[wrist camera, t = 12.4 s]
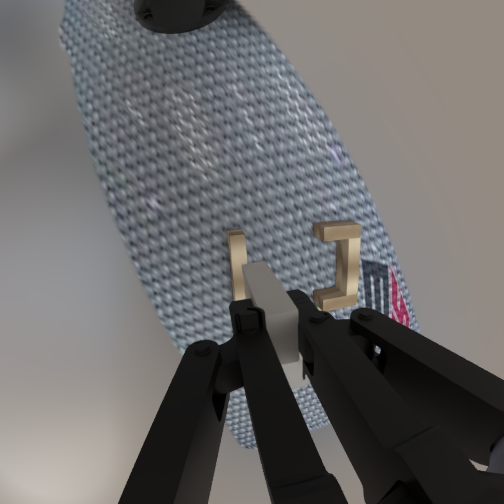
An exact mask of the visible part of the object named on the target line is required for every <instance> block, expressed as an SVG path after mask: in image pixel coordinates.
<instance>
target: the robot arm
mask: <svg viewBox="0 0 504 504" xmlns="http://www.w3.org/2000/svg"><path fill="white" fill-rule="evenodd" d="M226 4H227V0H134V11H135V14H136V16H137V19H138V21H139V22H140V23H141V24H142V25H143V26H144V27H146V28H147V29H150V30H152V31H155V32H160V33H181V32H187V31H191V30H195V29H198V28H200V27H203V26H205V25H207V24H209V23H210V22H212V21H213V20H215V19H216V18H217V17H218V16H219V15H220V14H221V13H222V12H223V11H224V9H225V7H226ZM241 266H242V274H243V282H244V290H245V298H246V299H243V300H236V301H232V302H231V304H230V305H229V310H230V316H231V322H232V328H233V334H234V335H233V337H232V338H231V339H230V340H229V341H227V342H226V343H223V344H221V345H218V344H217V343H216V342H214V341H212V340H200V341H197V342H194V343H192V344H191V345H189V346H188V348H187V349H186V351H185V353H184V355H183V357H182V360H181V362H180V364H179V366H178V368H177V371H176V373H175V375H174V377H173V379H172V381H171V384H170V386H169V388H168V390H167V393H166V395H165V397H164V399H163V401H162V403H161V406H160V408H159V410H158V412H157V414H156V417H155V419H154V421H153V423H152V426H151V428H150V430H149V433H148V435H147V437H146V439H145V442H144V444H143V446H142V448H141V451H140V453H139V455H138V458H137V460H136V462H135V464H134V467H133V469H132V472H131V474H130V476H129V479H128V481H127V483H126V486H125V488H124V490H123V493H122V495H121V498H120V500H119V503H118V504H208V500H209V495H210V490H211V485H212V481H213V476H214V471H215V466H216V461H217V457H218V452H219V447H220V442H221V437H222V432H223V427H224V423H225V418H226V413H227V408H228V403H229V398H230V392H231V391H234V390H236V389H238V388H241V387H243V386H244V390H245V395H246V399H247V404H248V408H249V413H250V417H251V422H252V426H253V431H254V435H255V439H256V444H257V448H258V452H259V456H260V460H261V464H262V468H263V472H264V476H265V480H266V484H267V488H268V492H269V496H270V499H271V503H272V504H348V502H347V500H346V498H345V496H344V494H343V491H342V489H341V487H340V485H339V483H338V481H337V479H336V478H335V477H334V476H333V474H330V473H328V472H327V471H326V469H325V467H324V465H323V463H322V460H321V458H320V456H319V453H318V451H317V449H316V447H315V444H314V442H313V440H312V437H311V435H310V432H309V430H308V428H307V425H306V423H305V420H304V418H303V416H302V413H301V411H300V409H299V406H298V404H297V402H296V399H295V397H294V394H293V392H292V390H291V387H290V385H289V382H288V380H287V378H286V375H285V373H284V370H283V368H282V365H285V364H289V363H294V362H298V361H299V352H300V354H301V356H302V377H303V380H305V375H307V377H308V379H309V381H310V383H311V385H312V387H313V389H314V391H315V393H316V395H317V397H318V399H319V401H320V403H321V405H322V407H323V409H324V411H325V413H326V415H327V416H328V418H329V420H330V422H331V424H332V426H333V428H334V430H335V432H336V434H337V436H338V438H339V440H340V442H341V444H342V446H343V448H344V450H345V452H346V454H347V456H348V458H349V460H350V462H351V464H352V466H353V468H354V470H355V471H356V473H357V475H358V477H359V479H360V481H361V483H362V485H363V491H364V492H363V493H364V500H365V503H366V504H504V380H502V379H501V378H499V377H497V376H495V375H493V374H491V373H490V372H488V371H486V370H484V369H483V368H481V367H479V366H477V365H475V364H474V363H472V362H470V361H468V360H466V359H465V358H463V357H461V356H459V355H457V354H455V353H454V352H452V351H450V350H448V349H446V348H444V347H443V346H441V345H439V344H437V343H435V342H433V341H431V340H430V339H428V338H426V337H424V336H422V335H421V334H419V333H417V332H415V331H413V330H411V329H410V328H408V327H406V326H404V325H402V324H400V323H399V322H397V321H395V320H393V319H391V318H389V317H387V316H386V315H384V314H382V313H380V312H378V311H376V310H374V309H371V308H359V309H355V310H354V311H352V313H351V315H350V319H342V320H336V319H335V318H334V317H333V316H332V315H331V314H330V313H328V312H325V311H319V310H318V308H317V307H316V306H315V305H314V304H313V302H312V301H311V300H310V299H309V298H308V296H307V295H306V294H305V293H304V292H302V291H300V290H298V289H296V290H291V291H285V290H284V288H283V287H282V285H281V284H280V282H279V281H278V279H277V278H276V276H275V275H274V273H273V272H272V270H271V269H270V267H269V266H268V264H267V263H266V261H262V262H255V263H248V264H242V265H241ZM376 346H378V347H379V348H381V351H380V354H378V353H376V352H375V348H376ZM469 459H470V460H472V461H474V462H477V463H479V464H482V465H486V466H488V468H487V470H486V471H480V470H477V469H476V468H475V467H474V465H473V464H472V463H471V462H470V460H469Z"/></svg>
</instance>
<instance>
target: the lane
mask: <svg viewBox="0 0 504 504" xmlns="http://www.w3.org/2000/svg"><path fill="white" fill-rule="evenodd" d="M360 226H361V224H358V223H354V222H351V221H348V220H347V221H333V222H320V223H314V236H315V237H317V238H319V239H321V240H323V241H333V240H337V261H336V287H331V288H325V289H318V290H314V302H315V304H316V305H317V306H318V307H319V308H320V309H321V310H322V311H329V310H334V309H339V308H344V307H349V306H354V305H356V303H357V291H358V277H359V260H360ZM227 232H228V244H229V255H230V266H231V276H232V287H233V297H234V301H236V300H243V299H246V298H245V290H244V282H243V274H242V266H241V265H242V264H247V253H246V240H245V234H244V232H243V231H242V230H241V229H239V230H229V231H227Z"/></svg>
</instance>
